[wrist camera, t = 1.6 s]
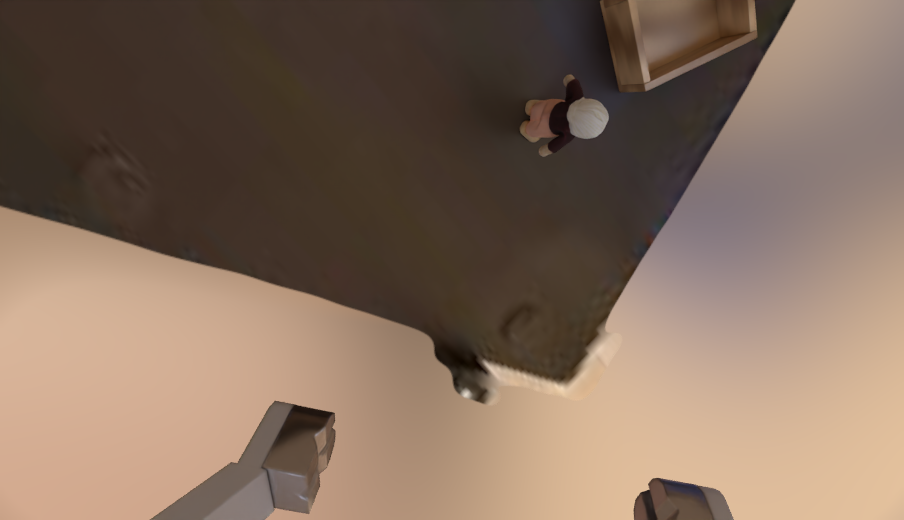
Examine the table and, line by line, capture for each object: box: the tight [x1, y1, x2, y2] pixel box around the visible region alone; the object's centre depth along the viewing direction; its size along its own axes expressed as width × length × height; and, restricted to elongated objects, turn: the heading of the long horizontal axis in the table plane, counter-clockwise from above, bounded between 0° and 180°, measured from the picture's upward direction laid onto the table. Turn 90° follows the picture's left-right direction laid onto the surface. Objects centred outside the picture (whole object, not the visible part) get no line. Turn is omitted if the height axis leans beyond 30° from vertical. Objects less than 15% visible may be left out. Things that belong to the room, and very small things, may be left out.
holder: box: [600, 0, 757, 92], centre depth 44 cm, size 10×14×5 cm
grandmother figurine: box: [520, 75, 609, 156], centre depth 40 cm, size 8×4×13 cm, turn 175°
